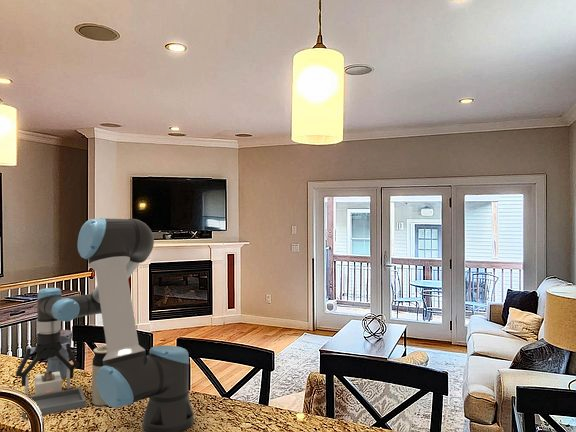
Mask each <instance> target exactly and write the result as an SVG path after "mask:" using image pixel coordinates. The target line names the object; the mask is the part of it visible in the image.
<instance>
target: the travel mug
mask: <svg viewBox="0 0 576 432" xmlns="http://www.w3.org/2000/svg"><path fill="white" fill-rule="evenodd" d="M93 353H94V357H93V358H92V365H91V367H92V372H91V373H92V375H91V379H92V380H91V387H92V388H91V403H92V404H93V405H95V406H99V407H101V406H102V407H103V406H108V405H107V404H106V403H105V401H103V399H102V397H101V396H100V394H99V391H98V388H97V382H96V377H97V372H98V370H99V369H100V368H101V367H102V366H103V359H104V357H105V356H106V354H107V347H106V345H103V346H98V347H95V348H94V349H93Z"/></svg>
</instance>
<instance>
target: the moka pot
mask: <svg viewBox="0 0 576 432" xmlns="http://www.w3.org/2000/svg"><path fill="white" fill-rule="evenodd" d="M62 327H63V326H62V325H61V329H60V330H59V331H60V332H61V338H60V343H61V344H65V343H67V342H69V344H70V348H71V345H72V340H73V334H74V333H73V331H72V330H71V329H70V330H69V329H62ZM59 352H60V353H61V355H62V356H63V357H64V358H65V359H66V360H67V361H68V362H69V363H70V356H69V354H68V352H67V350H65V349H64V348H63V347H62V348H61V349H60V351H59ZM47 359H48V360H47V365H46V369H45V370H46V371H45V372H47V371H52V372H60V375H61V379H62V380H64V379H67V369H69V368H68V367H67V366H66V365H65V364H64V363H63V362H62V361H61V360H60V359H59V358H58V357H57V356H55V357H54V358H47Z"/></svg>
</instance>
